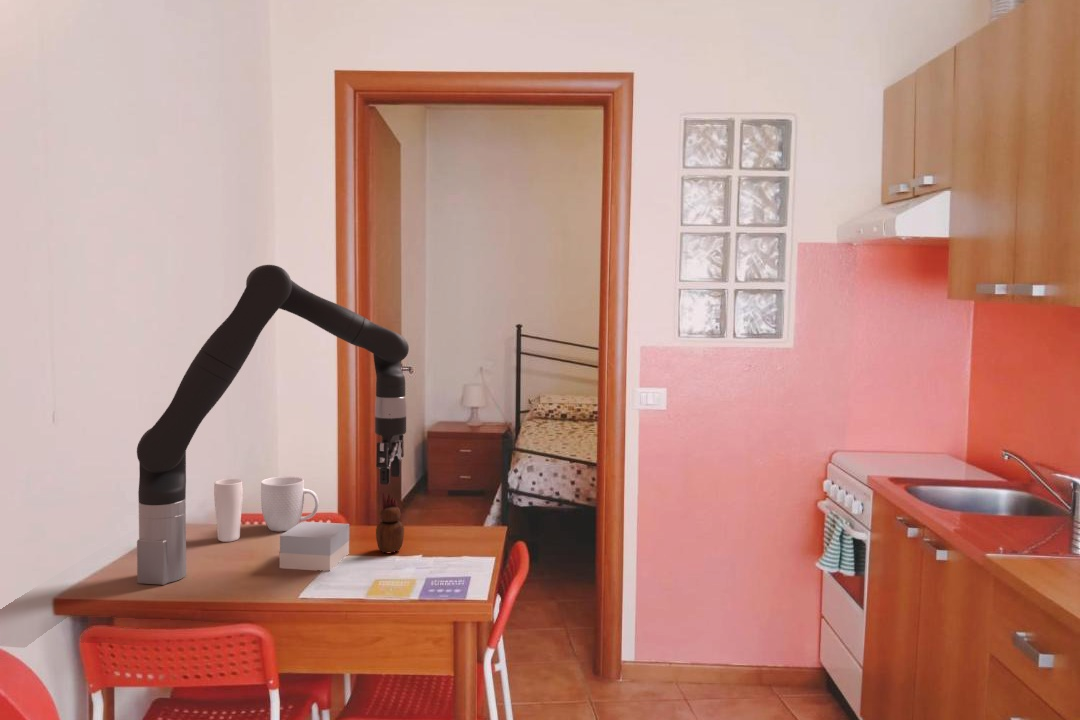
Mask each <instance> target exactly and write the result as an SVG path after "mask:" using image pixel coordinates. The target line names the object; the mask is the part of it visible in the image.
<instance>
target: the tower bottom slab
mask: <svg viewBox="0 0 1080 720" xmlns="http://www.w3.org/2000/svg"><path fill="white" fill-rule="evenodd" d="M348 554H349V555H350V540H349V541H348V542H347V543H345V544H344V545H343V546H342V547H340V548H339V549H338V550H337V551H336V552H334V553H333V554H332V555H331V556H327V555H310V554H293V553H280V552H279V569H284V570H285V569H288V570H304V571H317V570H320V571H321V570H331V569H332V568H333V567H334V566H335V565H336V564H337V563H338V562H339V561H340V560H341V559H343V558H344V557H345V556H346V555H348ZM349 555H348V556H349ZM344 559H345V558H344ZM344 559H343V560H344ZM336 566H337V565H336ZM336 566H335V567H336ZM335 567H334V568H335ZM334 568H333V569H334ZM333 569H332V570H333ZM332 570H331V571H332ZM321 572H322V571H321Z"/></svg>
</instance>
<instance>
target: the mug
mask: <svg viewBox="0 0 1080 720" xmlns="http://www.w3.org/2000/svg"><path fill="white" fill-rule="evenodd" d="M305 494H309V495H311V496H312V497H313V499H314V505H315V506H314V509H313V510H312V512H311V513H310V514H307V515H305V516H302V515H303V511H304V504H305ZM319 502H320V501H319V498H318V495H317V493H315V491H314V490H311V489H308V488H305V480H304V478H302V477H299V476H275V477H274V476H273V477H269V478H265V479H262V480H261V482H260V504H261V506H260V507H261V513H262V515H263V520H264V522H265V524H266V526H267V527H268V529H269V530H270V531H272V532H278V533H280V532H286V531H288V530H289V529H291V528H293V527H294V526H296V525H297V524H299V523H300V522H302V521H303V522H304V521H305V520H306V521H307V520H309V519H311V518H313V517H314V516H315V515H316V514H317V512H318V511H319V507H320V505H319V504H320V503H319Z"/></svg>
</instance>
